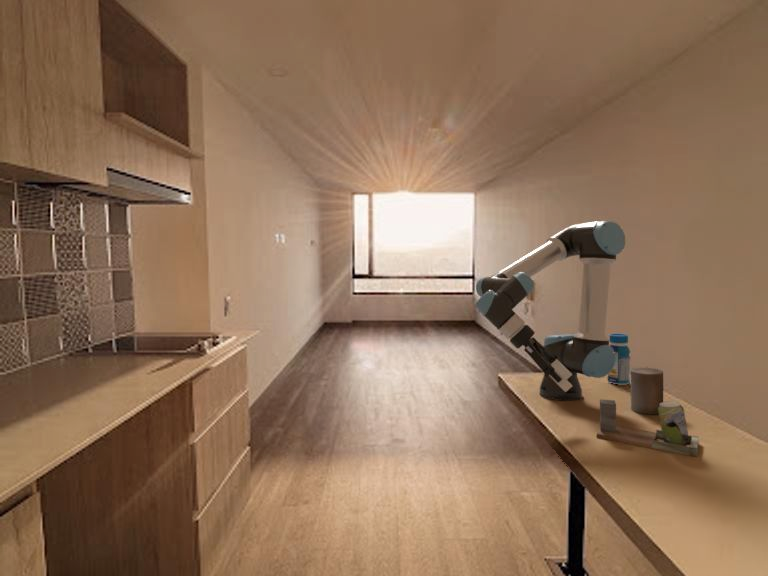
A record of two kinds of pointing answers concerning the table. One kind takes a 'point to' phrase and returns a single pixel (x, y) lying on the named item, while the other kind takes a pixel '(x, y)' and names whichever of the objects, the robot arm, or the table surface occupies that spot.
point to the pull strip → (637, 433)
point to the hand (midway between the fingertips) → (569, 383)
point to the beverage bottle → (620, 360)
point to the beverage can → (673, 423)
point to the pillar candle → (646, 390)
